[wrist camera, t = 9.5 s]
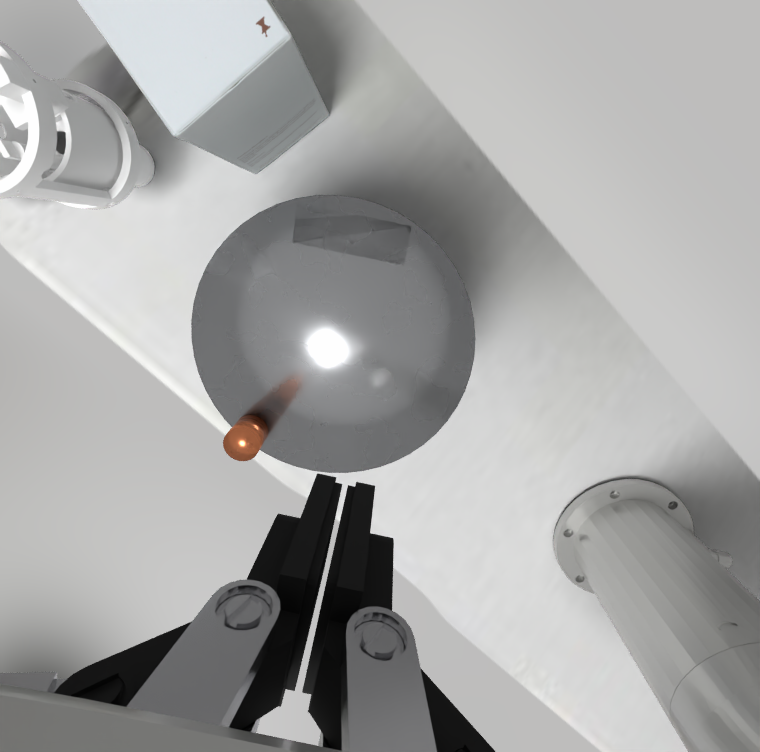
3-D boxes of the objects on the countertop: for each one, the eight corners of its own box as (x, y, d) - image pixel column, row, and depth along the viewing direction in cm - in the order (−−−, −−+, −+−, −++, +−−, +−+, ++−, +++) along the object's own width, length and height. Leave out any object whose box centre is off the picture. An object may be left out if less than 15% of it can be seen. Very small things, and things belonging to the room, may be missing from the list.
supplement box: (269, 15, 30) (187, -142, 17) (332, 117, 31) (297, 37, 19) (189, 85, 31) (60, -17, 19) (253, 178, 33) (174, 140, 20)
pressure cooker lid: (502, 230, 24) (521, 228, 20) (435, 480, 28) (441, 512, 25) (212, 169, 23) (182, 158, 20) (194, 436, 28) (168, 463, 24)
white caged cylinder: (197, 192, 33) (50, 152, 19) (120, 229, 34) (-77, 219, 19) (149, 94, 31) (-56, -33, 17) (68, 137, 32) (-191, 51, 18)
